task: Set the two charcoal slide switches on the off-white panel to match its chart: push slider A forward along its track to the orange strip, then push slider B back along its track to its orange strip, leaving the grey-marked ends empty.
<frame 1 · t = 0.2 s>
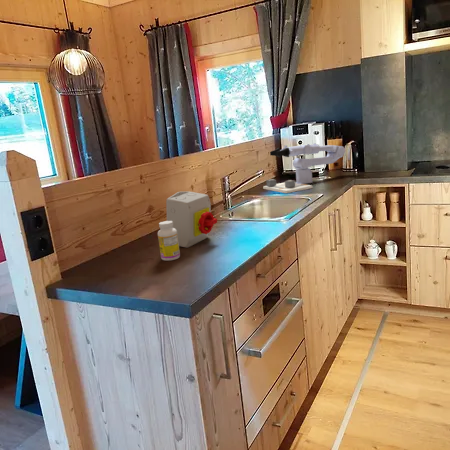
hand: (273, 153, 259), 21 cm above the worktop, tool horizontal, fingers open, 7 cm apart
panel: (287, 188, 260), on the worktop
supplement bottle: (170, 258, 150), on the worktop
slider A: (271, 182, 264), point 4 cm above the worktop, slide at 0.0 cm
electrical switch box: (195, 242, 166), on the worktop
slider B: (289, 183, 252), point 4 cm above the worktop, slide at 0.0 cm
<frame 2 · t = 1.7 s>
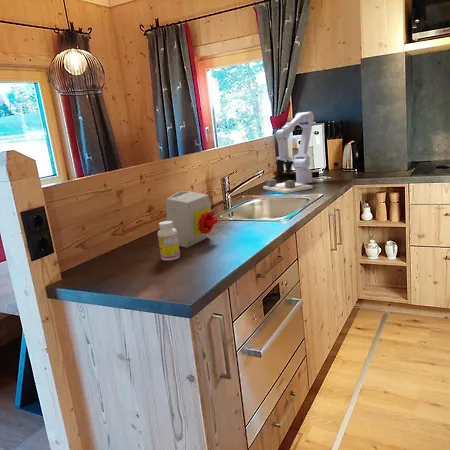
hand: (285, 172, 258), 9 cm above the worktop, tool pointing down, fingers open, 7 cm apart
nothing on the worktop moved.
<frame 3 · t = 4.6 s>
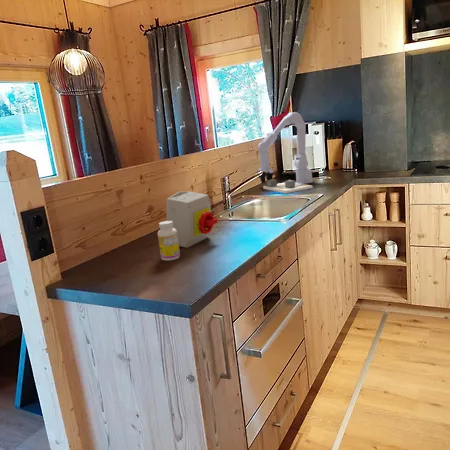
hand: (266, 183, 269), 3 cm above the worktop, tool pointing down, fingers open, 7 cm apart
slider A: (271, 182, 263), point 4 cm above the worktop, slide at 0.9 cm, touching gripper
everything else where it was.
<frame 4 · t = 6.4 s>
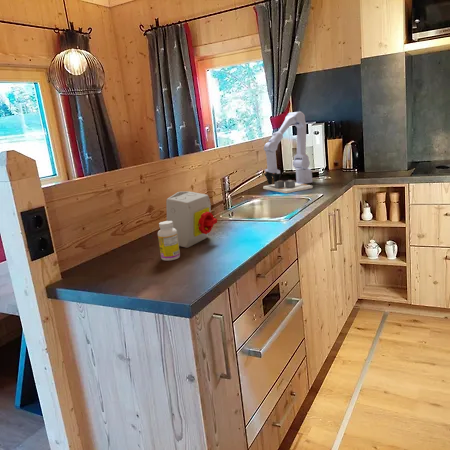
hand: (273, 184, 262), 3 cm above the worktop, tool pointing down, fingers open, 7 cm apart
slider A: (279, 183, 255), point 4 cm above the worktop, slide at 9.3 cm, touching gripper
everything else where it was.
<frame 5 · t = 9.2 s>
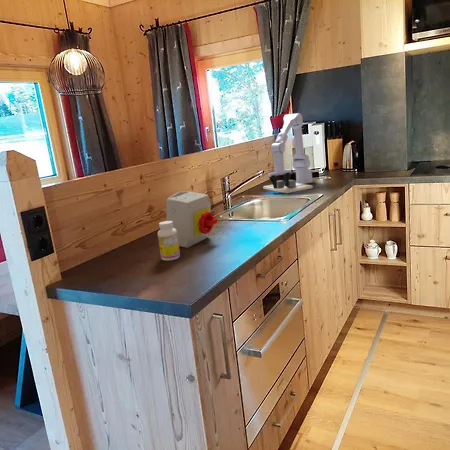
hand: (280, 187, 250), 3 cm above the worktop, tool pointing down, fingers open, 7 cm apart
slider A: (279, 183, 255), point 4 cm above the worktop, slide at 9.4 cm
slider B: (290, 183, 253), point 4 cm above the worktop, slide at -0.6 cm, touching gripper
everything else where it was.
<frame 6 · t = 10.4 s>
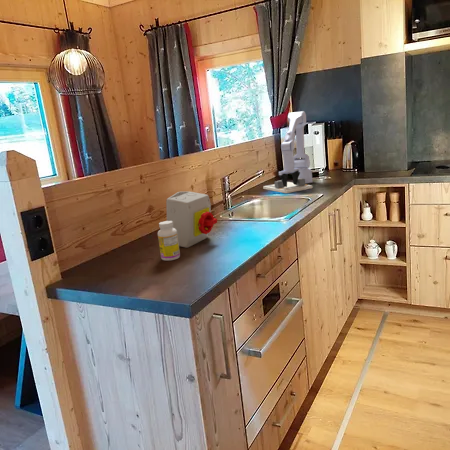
hand: (290, 185, 253), 3 cm above the worktop, tool pointing down, fingers open, 7 cm apart
slider B: (300, 181, 255), point 4 cm above the worktop, slide at -7.2 cm, touching gripper
everything else where it was.
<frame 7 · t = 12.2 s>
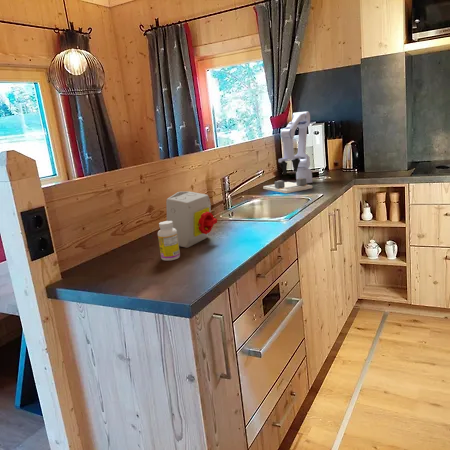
hand: (290, 172, 255), 10 cm above the worktop, tool pointing down, fingers open, 7 cm apart
slider B: (301, 181, 255), point 4 cm above the worktop, slide at -8.0 cm
everything else where it was.
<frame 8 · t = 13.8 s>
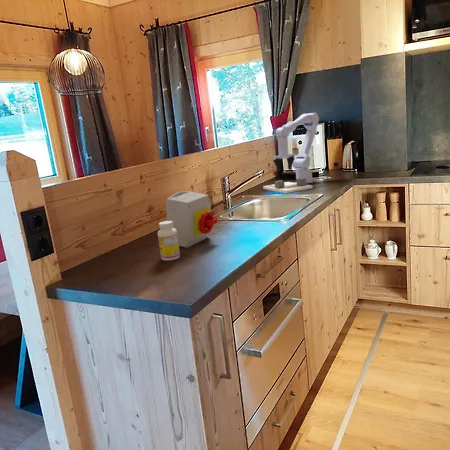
hand: (284, 170, 261), 10 cm above the worktop, tool pointing down, fingers open, 7 cm apart
nothing on the worktop moved.
at the end: slider A slide at 9.4 cm; slider B slide at -8.0 cm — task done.
